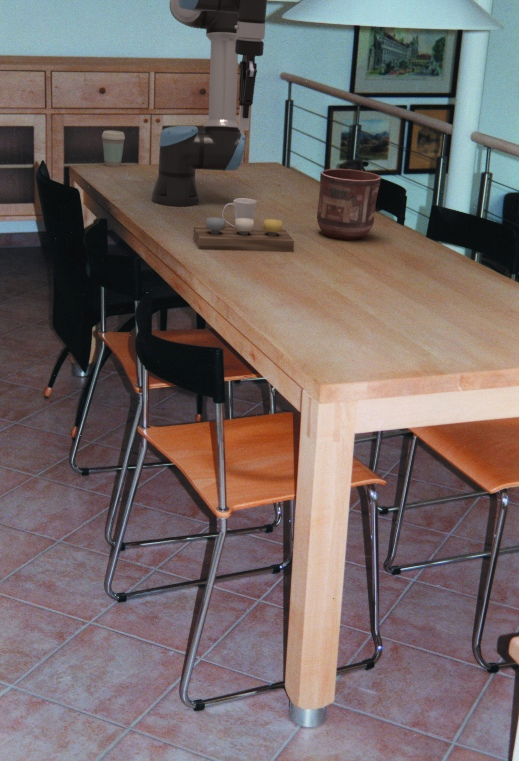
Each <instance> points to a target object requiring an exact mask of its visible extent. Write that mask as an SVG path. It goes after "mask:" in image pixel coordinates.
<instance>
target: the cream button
mask: <svg viewBox="0 0 519 761" xmlns="http://www.w3.org/2000/svg"><path fill="white" fill-rule="evenodd" d="M254 221H255V220H254V219H253V220H252V219H248V218H237V219H236V221H235V222H234V226H235V229H236V230H239V235H248V231H253V229H254V224H255V222H254Z"/></svg>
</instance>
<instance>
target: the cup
mask: <svg viewBox="0 0 519 761" xmlns="http://www.w3.org/2000/svg"><path fill="white" fill-rule="evenodd" d="M257 204H258V201H257V200H256V199H253V198H246V197H241V198H239V197H238V198H234V199H233V202H229V203H226V204H225V205H224V207H223V209H222V214H221V215H222V218H223V219H225V223H227V224H228V225H229V226H231V228H235V225H233V224H231V223H230V222H229V221H228V220H227V219H226V217H225V216H224V213H225V209H226V208H227V207H228V206H233V210H234V212H233V213H234V220H235V221H236V219H237V218H248V219H252V220H254V218H255V217H254V216H255V213H256V209H257Z"/></svg>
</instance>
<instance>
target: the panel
mask: <svg viewBox="0 0 519 761" xmlns="http://www.w3.org/2000/svg"><path fill="white" fill-rule="evenodd" d="M193 240H194V241H195V244H196V245H197V246H196V247H198V249H199V250H218V251H219V250H220V251H221V250H223V251H225V250H226V251H229V250H230V251H257V252H258V251H259V252H260V251H262V252H263V251H265V252H271V251H272V252H294V250H295V239H293V238H292V237H291V235H290V234H289V233H288V231H287V230H286V229H282V230H281V232H277V233H276V236H268V231H265V230H263V228H253V231H248V235H239V230H236V229H235V228H234V227H224V230H220V231H219V235H215V234H211V230H209V229H207V228H206V227H205V226H204V227H203V226H194V227H193Z"/></svg>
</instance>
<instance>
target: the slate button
mask: <svg viewBox="0 0 519 761" xmlns="http://www.w3.org/2000/svg"><path fill="white" fill-rule="evenodd" d="M225 219H226V218H225ZM225 219H223V217H218V216H211V217H210V216H208V217H206V223H205V225H206V228H207V229H209V230H211V234H215V235H219V231H220V230H224V228H226V226H225V225H226V221H225Z"/></svg>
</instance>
